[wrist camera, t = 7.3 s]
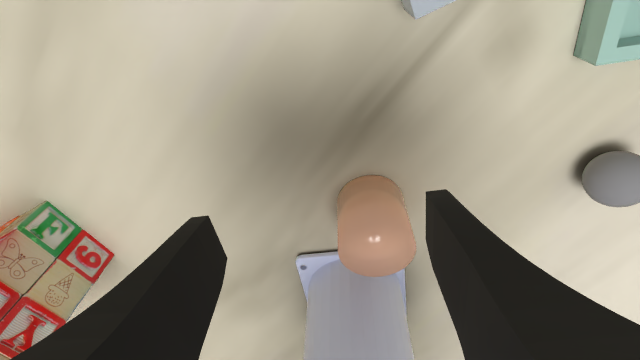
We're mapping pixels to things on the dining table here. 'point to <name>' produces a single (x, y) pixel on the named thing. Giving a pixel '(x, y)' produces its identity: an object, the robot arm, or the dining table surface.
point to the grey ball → (613, 179)
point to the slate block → (423, 6)
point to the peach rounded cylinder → (374, 227)
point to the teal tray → (609, 32)
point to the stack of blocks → (43, 275)
